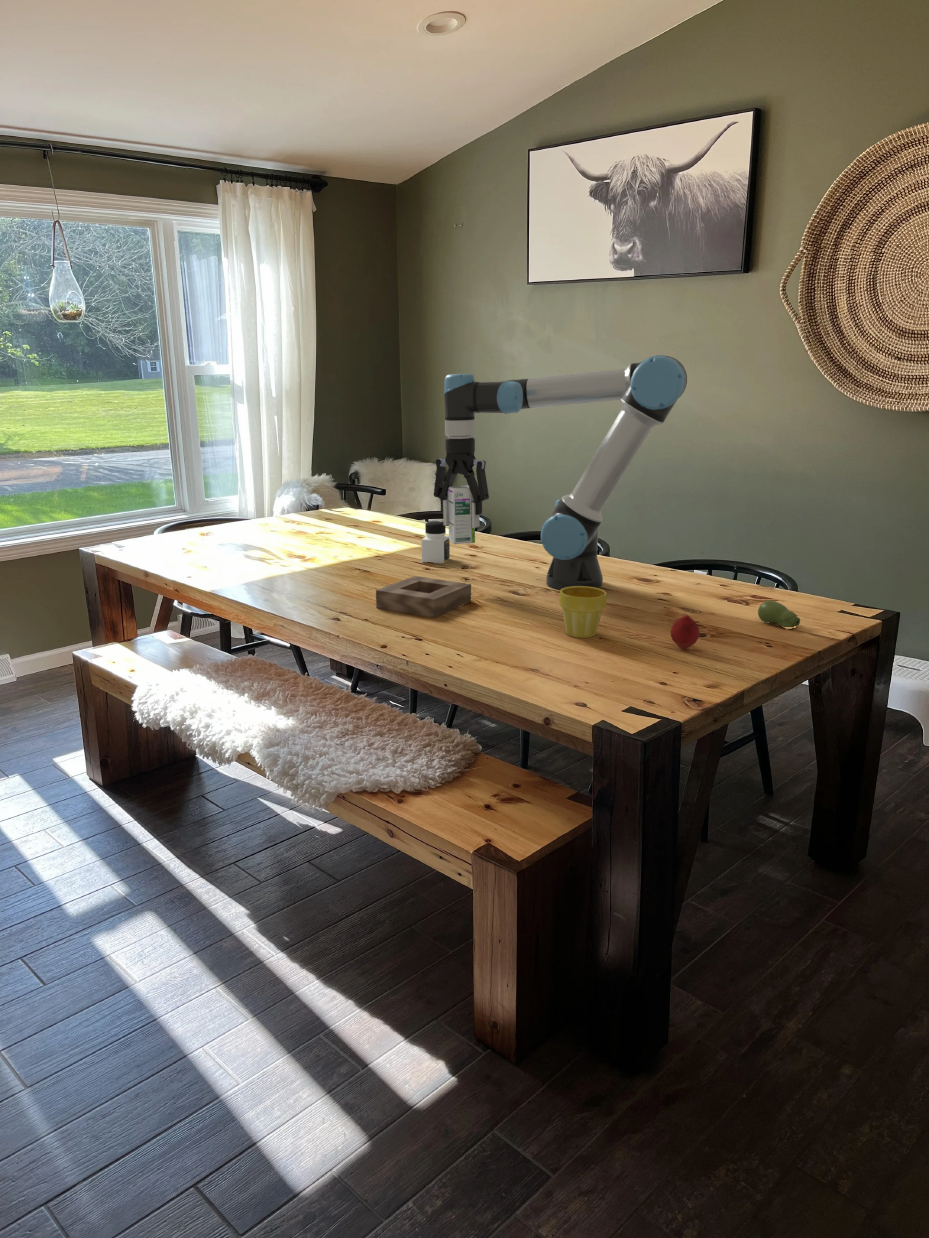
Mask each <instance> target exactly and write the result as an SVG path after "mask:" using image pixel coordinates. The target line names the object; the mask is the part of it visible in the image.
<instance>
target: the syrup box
mask: <svg viewBox="0 0 929 1238" xmlns="http://www.w3.org/2000/svg"><path fill="white" fill-rule="evenodd" d="M473 501H474V499H473V496H472V494H471V491H470V488H469V486H468V485H457V486H453V485H452V487H449V488H448V520H449V525H448V536H449V541H450V542H451V543H452V544H453V545H460V544H461V545H462V544H463V545H465V544H475V542H476V528H472V504H471V503H472V502H473Z"/></svg>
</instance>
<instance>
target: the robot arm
mask: <svg viewBox="0 0 929 1238" xmlns="http://www.w3.org/2000/svg"><path fill="white" fill-rule="evenodd" d="M687 383H688V374H687V370H686V369H685V367H684V365H683V364H682V363H681V362H680V361H679V360H678V359H676V358H675V357H671V356H669V355H665V354H664V355H661V354H656V355H653V356H650V357H648V358H647V357H646V359H644V360H642V361H640V362H634V363H632V362H631V363H629V364H628V365H627V366H626V367H625V368H617V369H616V368H615V369H609V370H608V369H607V370H596V371H587V372H578V373H577V372H576V373H569V374H568V373H567V374H560V375H559V374H558V375H547V376H541V377H540V376H539V377H532V378H531V377H529V378H521V379H507V380H502V381H476V380H475V375H474V374H472V373H451V374H447V375H446V376H445V378H444V384H443V385H444V386H443V387H444V388H443V390H444V391H443V400H444V401H443V402H444V435H445V436H446V438H445V440H444V442H445V443H444V444H445V447H444V448H445V452H446V454H445V457H444V458H443V457H442V458H437V459H435V467H436V473H435V478H434V479H435V480H434V482H435V483H434V487H433V496H434V497H435V498H438V499H439V500H440V512H441V513H443V521H442V522H444V525H446V526H449V520H448V488H449V487H453V485H454V483H455V479H456V477H457V476H458V474H460V475H463V478H464V479H465V480H466V483H467V486H469V488H470V491H471V494H472V496H473V499H474V501H473V502H472V503H471V504H472V528H475V529H476V528H479V527H481V525H480V515H482V513H483V502H484V501H487V500H489V499H490V494H489V487H488V481H487V475H486V465H487V463H486V462H487V461H486V460H479V459H476V456H475V453H476V440H475V439H476V438H475V437H473V436H475V435H476V432H475V431H476V430H475V423H476V422H475V417H476V416H475V414H476V413H477V414H481V413H482V414H484V413H485V414H517V413H519V412H520V411H521V410H526V409H527V410H529V409H535V408H536V409H537V408H547V407H558V406H570V405H580V404H581V405H582V404H590V403H591V404H593V403H601V402H602V403H603V402H604V403H605V402H613V401H614V402H615V401H620V402H621V409H620V411H619V413H618V415H617V416H616V418H615V420H614V421H613V423H612V424H611V426H610V428H609V430H608V431H607V432H606V434H605V437H604V438H603V440H602V442H601V443H600V445H599V447H598V448H597V450H596V451H595V453H594V455H593V456H592V458H591V459H590V461H589V463H588V465H587V467H586V468H585V470H584V471H583V473H582V475H581V476H580V478H579V480H578V482H577V484H576V485H575V487H574V488H573V490H572V491H571V493H570V494H566V495H562V497H561V498H560V499H557V500H556V501H555V503H554V504H555V505H554V508H553V511H552V513H551V515H550V517H548V518H547V519H546V520H545V521H544V523H543V524H542V527H541V531H540V541H541V545H542V548H543V549H544V550H545V551H546V552H547V553H548V555H550V556H551V557H552V559H551V562H550V565H549V568H548V571H547V573H546V579H545V580H546V582H545V583H546V585H547V586H548V587H551V588H553V589H557V590H561V589H563V588H566V587H571V586H587V587H595V588H599V589H601V587H603V582H604V581H603V579H604V577H603V573H602V569H601V566H600V562H599V559H598V547H599V545H598V542H599V541H598V540H599V528H600V525H601V524H602V522H603V515H602V511H603V509H604V506H606V503H608V501H609V499H610V498H611V496H612V494H613V492H614V491H615V489H616V487H617V486H618V484H619V483H620V481H621V480H622V478H623V476H625V474H626V471H627V470H628V468H629V466H630V465H631V463H632V462H633V460H634V459H635V457H636V455H637V454H638V452H639V451H640V450H641V449H640V448H641V447H642V446H643V444H644V443H645V441H646V439H647V437H648V436H649V434H650V433H651V431H652V429H653V428H654V427H655V426H658V425H663V423H664V422H665V421H666V419H667V417H668V416H669V414H670V413H671V411H672V409H673V408H674V406H675V405H676V403H677V401H678V400H679V399H680V398H681V397H682V396H683V394H684V392H685V390H686V388H687ZM446 466H447V467H448V469H447V472H446ZM474 468H475V470H474ZM475 474H476V476H475Z"/></svg>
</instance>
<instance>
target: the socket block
mask: <svg viewBox="0 0 929 1238" xmlns="http://www.w3.org/2000/svg"><path fill="white" fill-rule="evenodd" d="M375 600H376V601H375V603H376V604H375V606H376V609H381V610H388V611H393V612H399V613H406V614H411V615H416V616H422V617H428V618H432V617H433V619H435V618H437V617H440V616H442V615H444V614H447V613H448V612H450V610H451V611H453V610H455V609H457V607H458V608H460V607H462V606H464V605H466V603H467V604H468V602H469V603H471V602H472V584H471V583H465V582H460V581H459V582H457V581H452V580H446V579H438V578H431V577H426V576H417V575H413V576H411V577H408V578H406V579H403V580H400V581H398V582H397V581H396V582H394V583H391V584H389V585H386V586H384V587H381V588H380V587H379V588H378V589H375ZM470 601H471V602H470ZM463 604H464V605H463ZM459 606H460V607H459Z"/></svg>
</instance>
